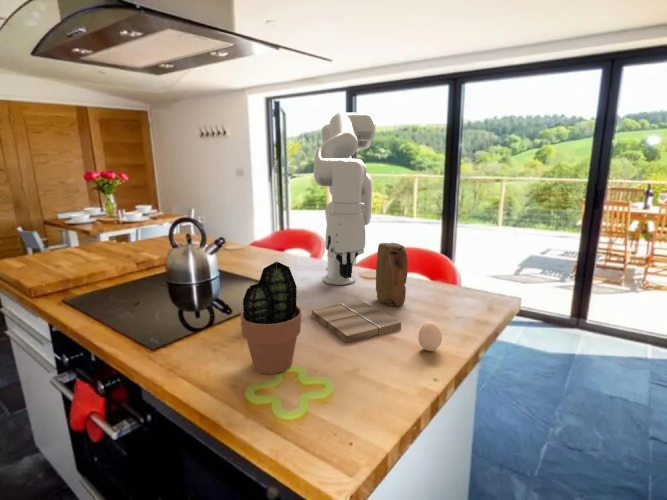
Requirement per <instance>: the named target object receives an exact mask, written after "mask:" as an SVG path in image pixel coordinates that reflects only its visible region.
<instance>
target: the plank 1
mask: <svg viewBox="0 0 667 500" xmlns="http://www.w3.org/2000/svg"><path fill="white" fill-rule="evenodd" d="M310 313H311V316H312V317H313V318H314V319H315V320H317V321H318V322H319V323H320V324H322V325H324V327H326V328H327V329H329V328H328V322H331V321H335V320H340V319H344V318H348V317H352V316H357V315H356V314H355V313H353V312H352V311H350V310H348V309H347V308H345V307H343V306H342V305H340V303H338V304H332V305H329V306H323V307H318V308H314V309H311V312H310Z"/></svg>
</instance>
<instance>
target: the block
mask: <svg viewBox="0 0 667 500" xmlns="http://www.w3.org/2000/svg"><path fill="white" fill-rule="evenodd" d="M408 262H409V259H408V253H407V251H406V248H405V246H404V245H403V244H400V243H396V242H380V243H379V244H378V247H377V253H376V268H375V270H376V271H375V291H376V297H377V298H376V299H377V300H378V301H380V302H381V303H382V304H386V305H388V306H391V307H400V306H402V305H404V304H405V301H406V293H407V292H406V289H407V287H406V283H407V279H408V270H409V269H408V268H409V263H408Z"/></svg>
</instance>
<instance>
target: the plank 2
mask: <svg viewBox="0 0 667 500" xmlns="http://www.w3.org/2000/svg"><path fill="white" fill-rule="evenodd" d="M327 329H328V330H330V331H332V333H334V335H335V334H336V335H337V336H338V338H340V339H342V340H343V341H345V342H346V343H351V342H355V341H359V340H362V339H365V338H366V339H367V338H369V337H373V336H376V335H379V334H378V327H376V326H374V325H373V324H371V323H369V322H368V321H366V320H365V319H363V318H361V317H360V316H358V315H357V316H352V317H348V318H344V319H340V320H335V321H331V322H328V328H327Z"/></svg>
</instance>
